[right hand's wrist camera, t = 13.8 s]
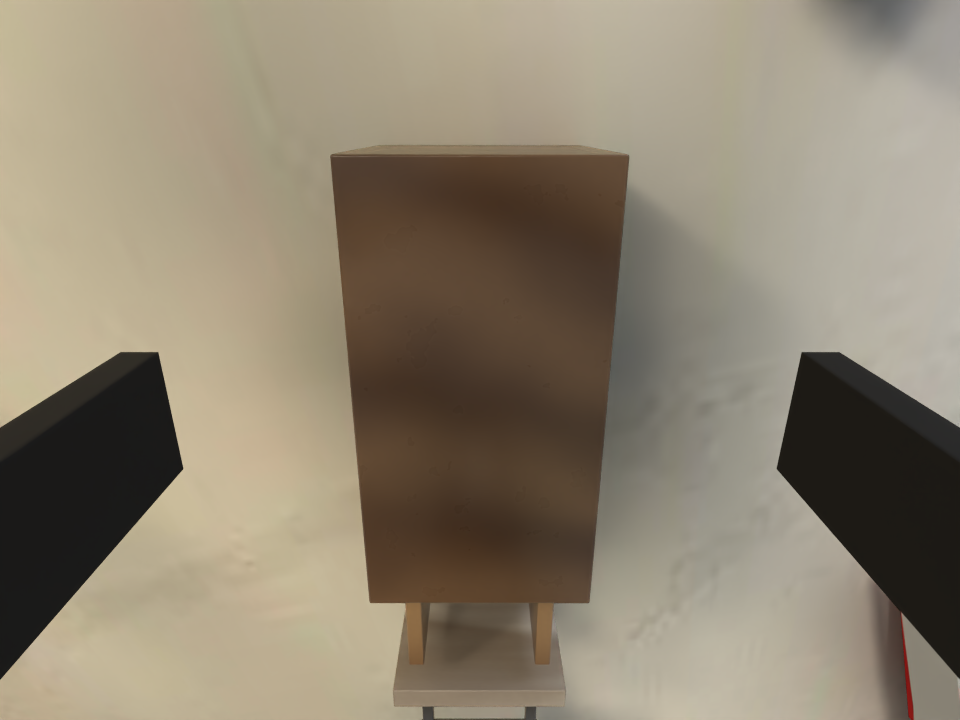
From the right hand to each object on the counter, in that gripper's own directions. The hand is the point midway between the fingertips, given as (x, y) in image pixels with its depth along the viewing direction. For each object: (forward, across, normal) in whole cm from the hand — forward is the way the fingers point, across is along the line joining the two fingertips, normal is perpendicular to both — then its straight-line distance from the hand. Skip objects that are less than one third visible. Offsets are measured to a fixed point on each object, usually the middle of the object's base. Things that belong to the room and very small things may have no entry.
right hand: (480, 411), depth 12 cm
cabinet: (+21, 0, -5) cm, 21 cm away
